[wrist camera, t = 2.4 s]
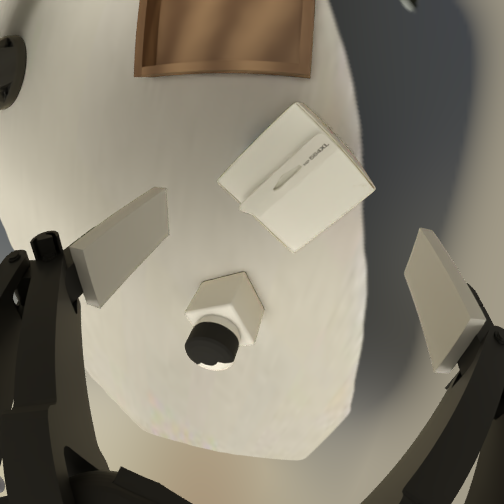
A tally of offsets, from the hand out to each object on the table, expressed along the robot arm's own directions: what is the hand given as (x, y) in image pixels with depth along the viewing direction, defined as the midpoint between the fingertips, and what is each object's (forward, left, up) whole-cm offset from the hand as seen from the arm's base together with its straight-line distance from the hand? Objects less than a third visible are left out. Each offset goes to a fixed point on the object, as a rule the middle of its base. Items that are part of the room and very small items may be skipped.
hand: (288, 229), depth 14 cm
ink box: (0, 0, -19) cm, 19 cm away
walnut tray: (-9, +16, -18) cm, 26 cm away
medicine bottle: (-7, -21, -19) cm, 29 cm away
